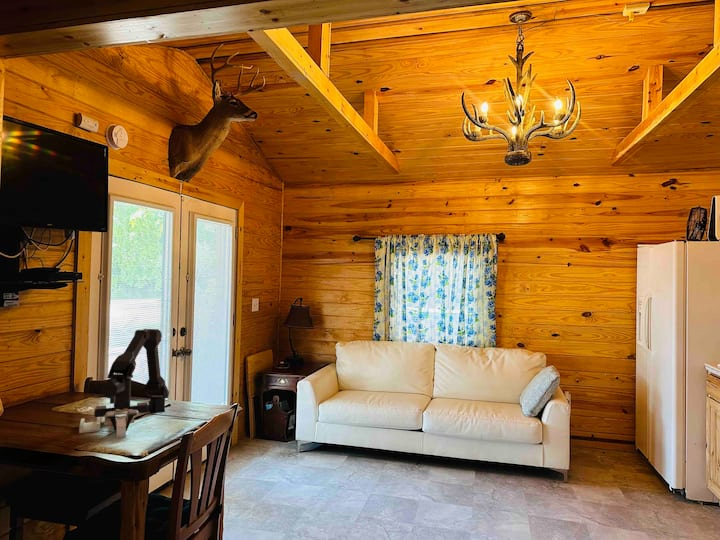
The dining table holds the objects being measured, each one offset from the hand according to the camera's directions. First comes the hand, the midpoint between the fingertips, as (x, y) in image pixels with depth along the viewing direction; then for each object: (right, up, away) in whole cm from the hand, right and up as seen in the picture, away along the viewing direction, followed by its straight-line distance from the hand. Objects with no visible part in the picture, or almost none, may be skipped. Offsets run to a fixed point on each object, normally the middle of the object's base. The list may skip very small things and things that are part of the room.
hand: (121, 431), depth 185 cm
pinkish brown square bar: (-2, -1, +4) cm, 5 cm away
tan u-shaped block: (-8, -1, +15) cm, 17 cm away
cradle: (-15, -1, +6) cm, 17 cm away
